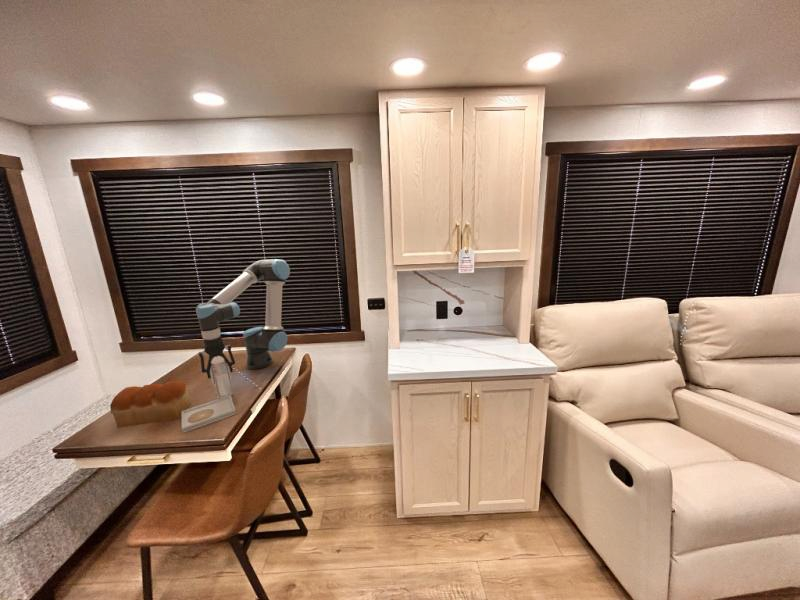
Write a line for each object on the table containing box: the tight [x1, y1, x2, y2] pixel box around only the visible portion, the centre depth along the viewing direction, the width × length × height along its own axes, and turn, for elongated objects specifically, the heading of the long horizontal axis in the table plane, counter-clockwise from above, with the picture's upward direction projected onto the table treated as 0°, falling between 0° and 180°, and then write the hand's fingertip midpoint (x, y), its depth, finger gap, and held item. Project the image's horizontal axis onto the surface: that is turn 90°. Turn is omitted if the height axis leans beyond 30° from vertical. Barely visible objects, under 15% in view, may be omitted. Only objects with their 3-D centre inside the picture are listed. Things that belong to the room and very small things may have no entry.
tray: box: [181, 395, 237, 434], centre depth 138 cm, size 20×16×2 cm
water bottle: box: [210, 355, 234, 399], centre depth 149 cm, size 7×7×25 cm
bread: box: [109, 380, 191, 428], centre depth 139 cm, size 25×12×15 cm, turn 101°
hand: (222, 380), depth 150 cm, fingers closed on water bottle, 7 cm apart
